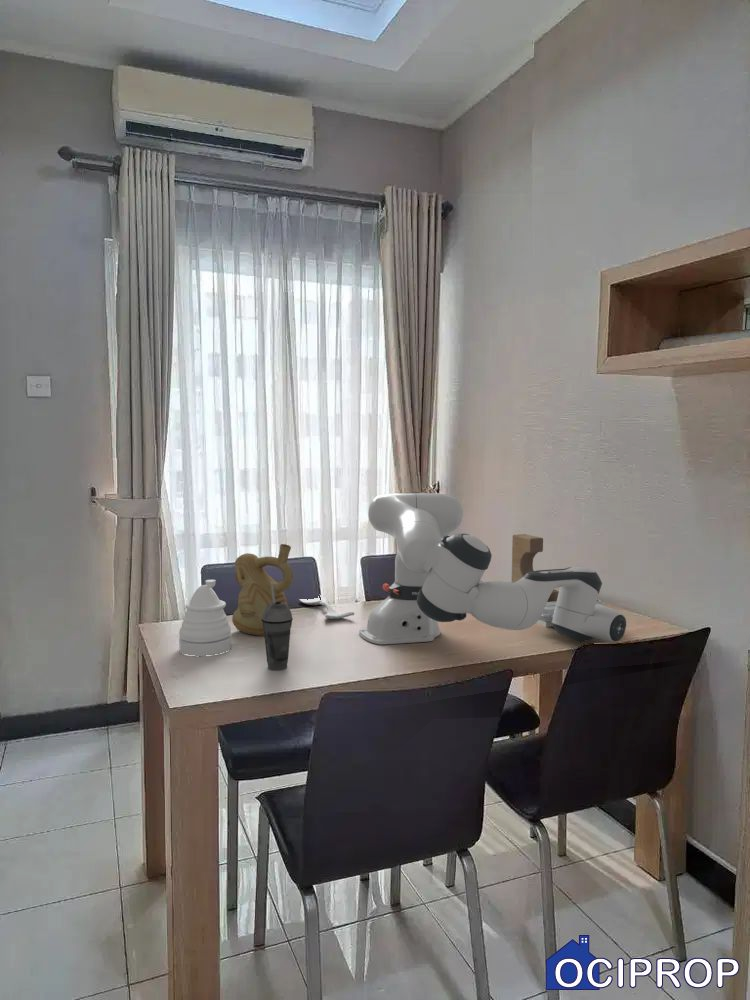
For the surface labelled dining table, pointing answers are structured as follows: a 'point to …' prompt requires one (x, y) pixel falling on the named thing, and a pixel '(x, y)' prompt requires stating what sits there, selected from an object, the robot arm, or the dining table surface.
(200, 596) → the honey pot
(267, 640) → the beverage cup
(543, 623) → the walnut block
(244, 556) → the ceramic vessel
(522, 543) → the decorative block
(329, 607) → the white slender handled part
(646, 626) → the dining table surface
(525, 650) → the dining table surface
